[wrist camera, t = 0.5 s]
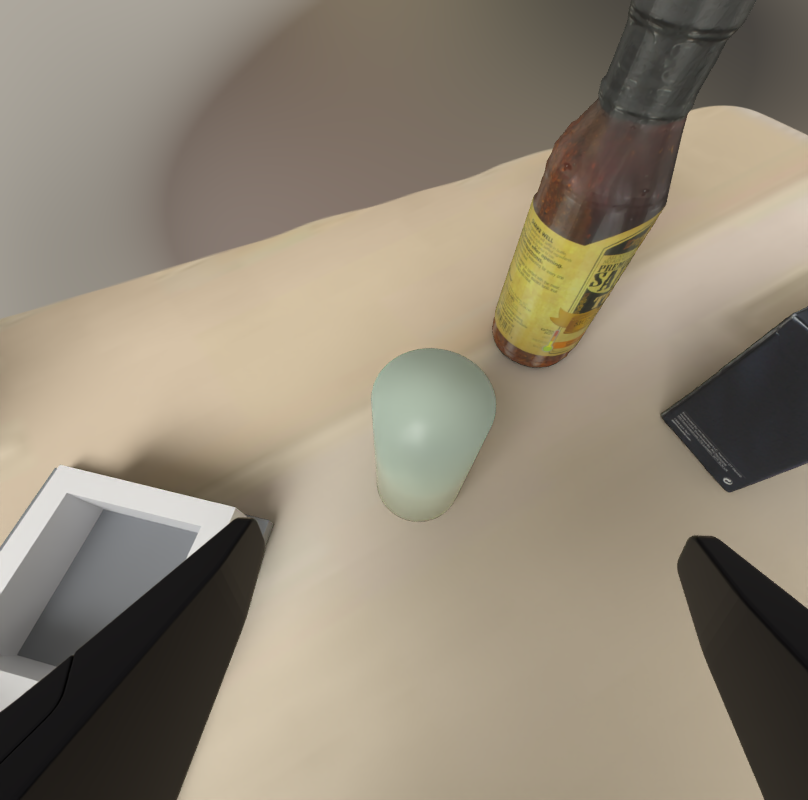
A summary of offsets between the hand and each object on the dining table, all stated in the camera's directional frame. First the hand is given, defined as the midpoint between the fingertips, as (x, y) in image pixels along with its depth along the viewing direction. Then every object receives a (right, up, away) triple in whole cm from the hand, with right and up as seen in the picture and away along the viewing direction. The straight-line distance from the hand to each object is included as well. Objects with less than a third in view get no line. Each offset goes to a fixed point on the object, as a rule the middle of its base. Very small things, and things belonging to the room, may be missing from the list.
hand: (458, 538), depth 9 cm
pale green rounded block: (0, -2, +16) cm, 16 cm away
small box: (+22, +1, +19) cm, 29 cm away
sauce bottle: (+8, +8, +23) cm, 25 cm away
